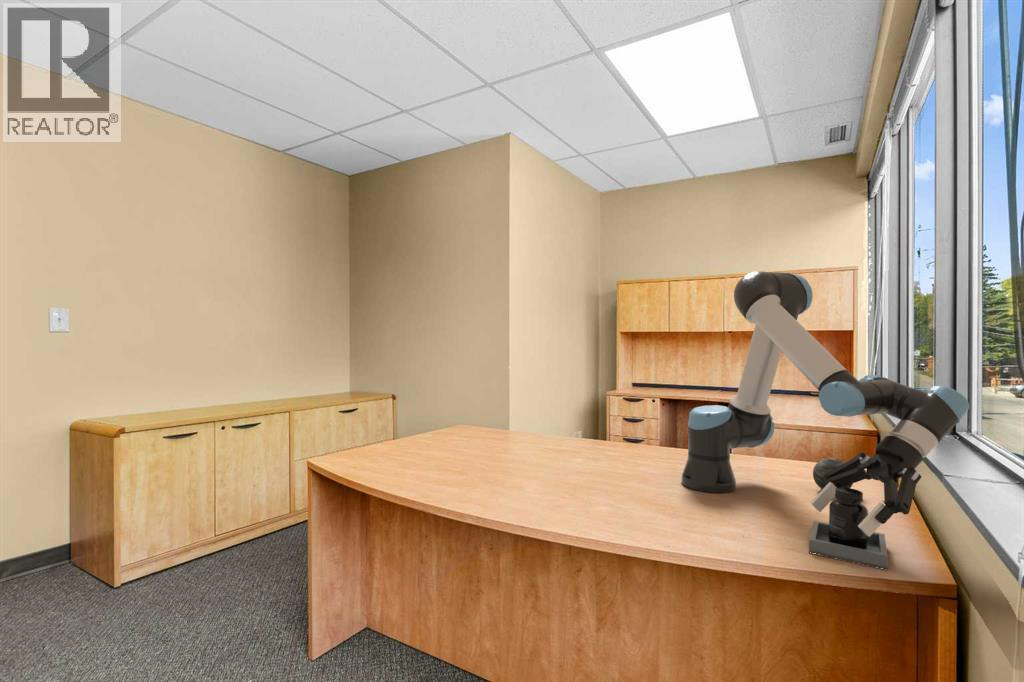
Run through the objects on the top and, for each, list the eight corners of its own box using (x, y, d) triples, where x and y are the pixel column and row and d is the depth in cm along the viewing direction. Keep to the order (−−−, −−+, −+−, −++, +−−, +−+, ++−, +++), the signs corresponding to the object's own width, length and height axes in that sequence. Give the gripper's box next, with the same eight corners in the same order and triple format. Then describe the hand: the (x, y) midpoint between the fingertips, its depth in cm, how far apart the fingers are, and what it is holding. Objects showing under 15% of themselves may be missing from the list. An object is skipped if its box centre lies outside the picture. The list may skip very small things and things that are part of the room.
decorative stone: (840, 488, 149) (841, 454, 149) (861, 499, 139) (862, 463, 139) (805, 487, 150) (806, 453, 149) (824, 498, 140) (825, 462, 139)
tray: (809, 553, 104) (809, 539, 104) (813, 532, 115) (813, 520, 115) (887, 570, 97) (887, 555, 97) (884, 547, 107) (884, 534, 107)
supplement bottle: (874, 555, 102) (875, 496, 101) (836, 552, 103) (838, 494, 103) (857, 542, 108) (859, 486, 108) (823, 539, 110) (824, 484, 110)
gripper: (975, 475, 94) (900, 557, 93) (869, 445, 119) (808, 510, 118) (950, 447, 94) (874, 529, 93) (848, 423, 119) (787, 488, 117)
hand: (837, 518), depth 105 cm, fingers open, 13 cm apart
